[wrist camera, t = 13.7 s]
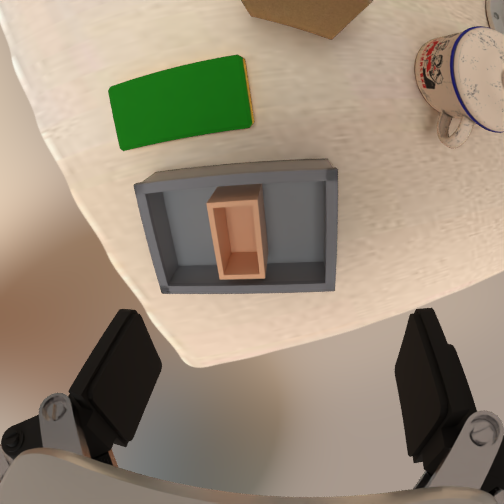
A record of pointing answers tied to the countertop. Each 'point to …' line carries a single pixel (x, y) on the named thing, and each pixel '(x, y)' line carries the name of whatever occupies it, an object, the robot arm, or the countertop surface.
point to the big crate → (276, 216)
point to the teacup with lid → (464, 81)
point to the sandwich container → (308, 13)
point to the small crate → (239, 231)
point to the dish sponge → (182, 102)
